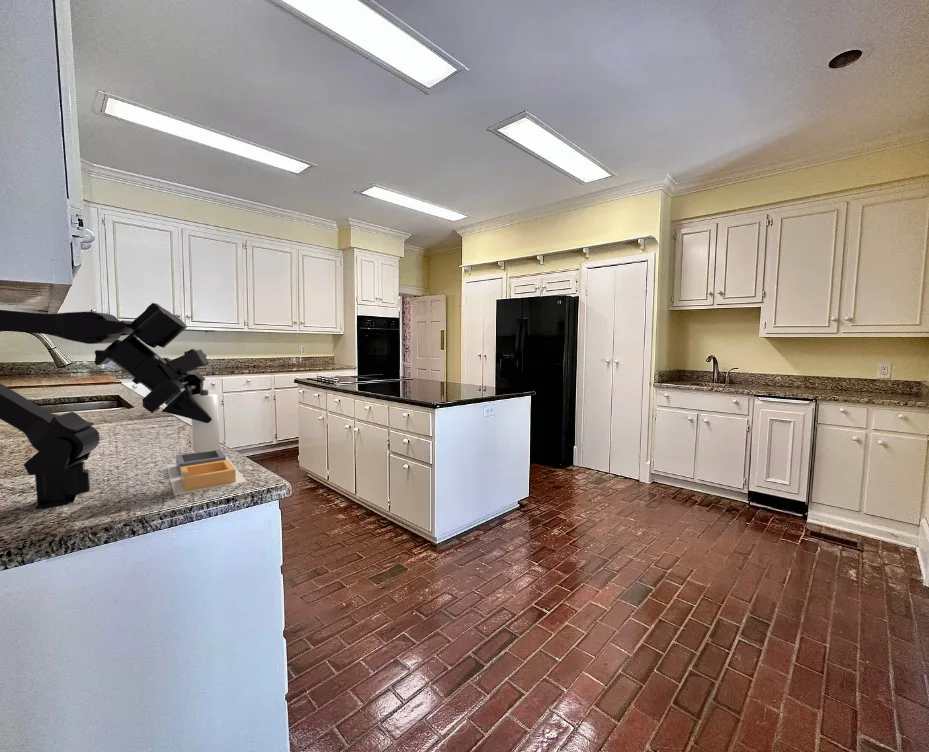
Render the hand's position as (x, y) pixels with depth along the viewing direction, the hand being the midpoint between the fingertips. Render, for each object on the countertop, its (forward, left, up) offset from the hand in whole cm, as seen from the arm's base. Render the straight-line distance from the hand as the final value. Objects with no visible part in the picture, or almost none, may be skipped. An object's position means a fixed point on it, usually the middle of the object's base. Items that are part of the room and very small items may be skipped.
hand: (213, 419), depth 83 cm
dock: (-1, +6, -13) cm, 15 cm away
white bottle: (-1, 0, -6) cm, 6 cm away
